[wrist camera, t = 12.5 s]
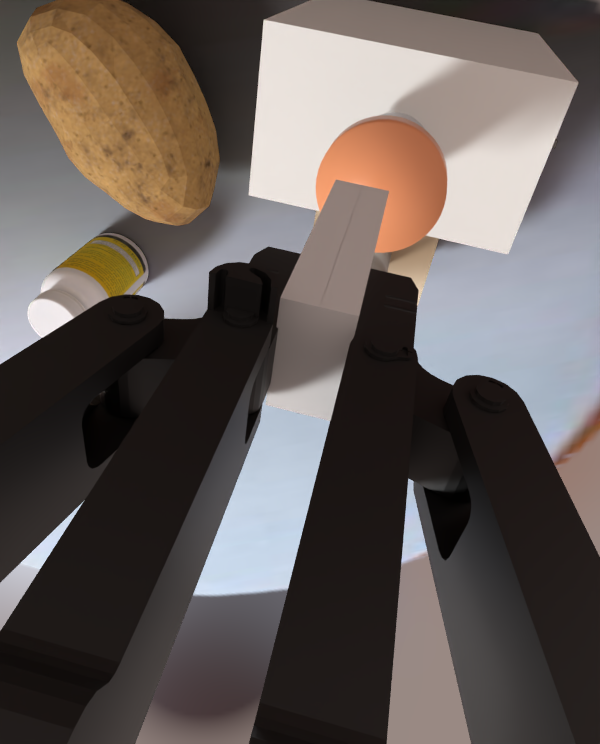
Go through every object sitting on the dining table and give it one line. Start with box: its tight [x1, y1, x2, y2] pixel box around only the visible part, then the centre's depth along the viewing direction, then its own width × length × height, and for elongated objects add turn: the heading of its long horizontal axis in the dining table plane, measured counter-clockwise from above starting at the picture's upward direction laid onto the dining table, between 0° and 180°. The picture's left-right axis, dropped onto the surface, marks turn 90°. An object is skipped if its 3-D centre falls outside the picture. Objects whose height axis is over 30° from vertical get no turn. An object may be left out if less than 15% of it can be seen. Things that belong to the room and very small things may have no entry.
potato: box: [17, 0, 220, 226], centre depth 35 cm, size 10×14×8 cm
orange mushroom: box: [316, 112, 448, 253], centre depth 21 cm, size 4×4×5 cm
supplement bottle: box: [27, 233, 149, 338], centre depth 43 cm, size 5×5×10 cm
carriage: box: [314, 211, 439, 306], centre depth 32 cm, size 8×7×15 cm
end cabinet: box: [249, 0, 579, 254], centre depth 29 cm, size 7×13×14 cm, turn 82°
